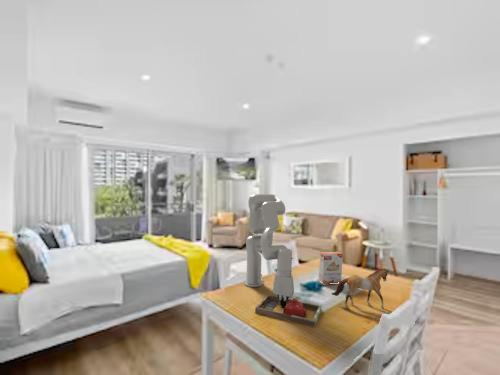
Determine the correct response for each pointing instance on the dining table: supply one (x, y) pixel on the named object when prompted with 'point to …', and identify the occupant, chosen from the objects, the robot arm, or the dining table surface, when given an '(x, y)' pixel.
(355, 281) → the horse figurine
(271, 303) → the box
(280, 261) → the robot arm
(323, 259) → the cracker box
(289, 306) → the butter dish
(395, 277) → the dining table surface
